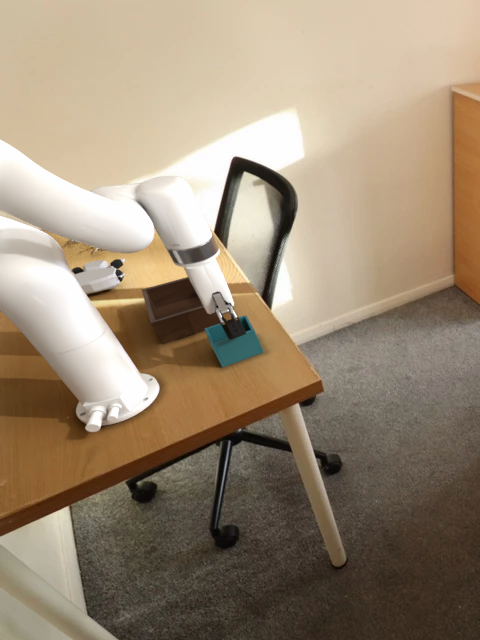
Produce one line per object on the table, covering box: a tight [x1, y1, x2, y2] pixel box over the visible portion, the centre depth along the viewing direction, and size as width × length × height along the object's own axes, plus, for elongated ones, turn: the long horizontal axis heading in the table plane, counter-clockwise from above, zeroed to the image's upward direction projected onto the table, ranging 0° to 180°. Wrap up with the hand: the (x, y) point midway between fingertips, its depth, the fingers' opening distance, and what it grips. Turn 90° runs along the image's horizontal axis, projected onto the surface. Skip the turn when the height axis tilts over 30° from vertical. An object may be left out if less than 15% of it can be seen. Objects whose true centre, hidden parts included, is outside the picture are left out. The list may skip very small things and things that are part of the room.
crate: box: [141, 276, 231, 345], centre depth 106 cm, size 16×14×6 cm
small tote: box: [204, 314, 264, 368], centre depth 97 cm, size 8×6×6 cm
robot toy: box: [71, 258, 126, 296], centre depth 116 cm, size 12×4×15 cm
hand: (231, 324), depth 95 cm, fingers open, 9 cm apart
